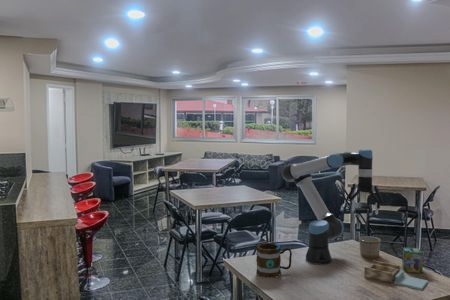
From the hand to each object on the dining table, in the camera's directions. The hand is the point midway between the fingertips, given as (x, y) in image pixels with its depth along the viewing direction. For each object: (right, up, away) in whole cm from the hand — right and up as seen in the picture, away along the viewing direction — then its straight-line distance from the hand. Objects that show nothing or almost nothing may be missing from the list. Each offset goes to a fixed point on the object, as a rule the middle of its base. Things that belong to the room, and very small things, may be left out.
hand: (364, 212), depth 224 cm
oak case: (+3, -32, -16) cm, 36 cm away
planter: (+9, -30, +18) cm, 36 cm away
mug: (-54, -32, -10) cm, 64 cm away
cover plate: (+14, -33, -25) cm, 44 cm away
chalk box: (+24, -31, -7) cm, 40 cm away
